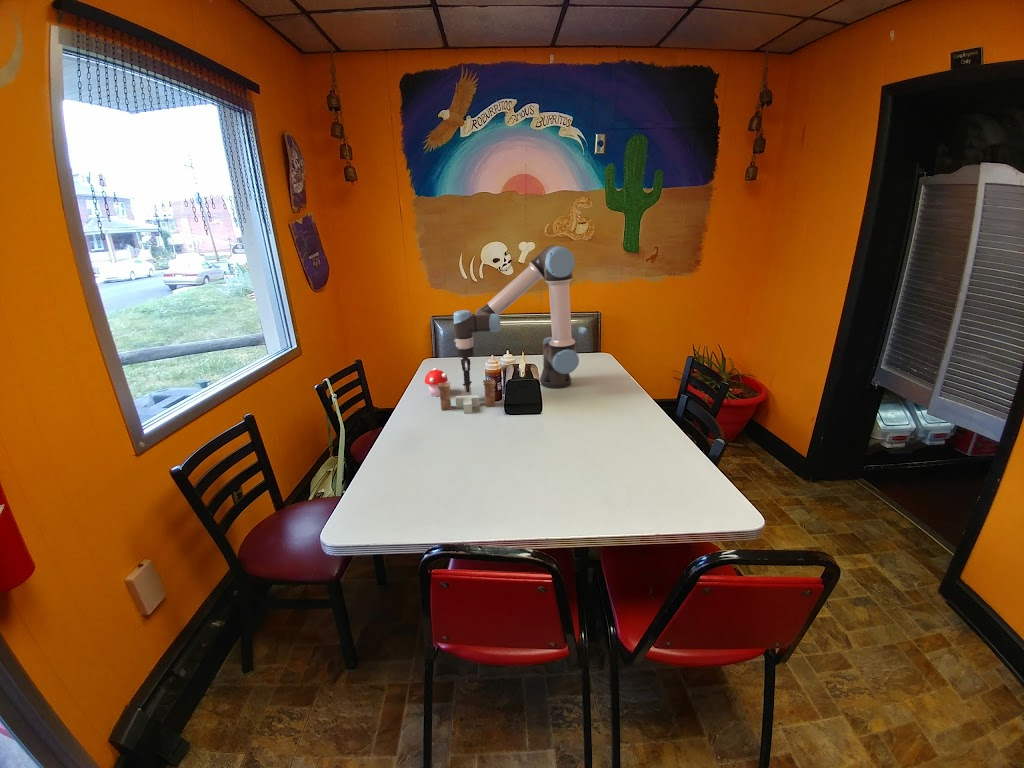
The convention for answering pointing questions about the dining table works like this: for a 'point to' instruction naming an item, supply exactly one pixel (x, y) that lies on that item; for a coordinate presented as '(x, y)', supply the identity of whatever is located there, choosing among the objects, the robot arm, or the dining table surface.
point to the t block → (467, 402)
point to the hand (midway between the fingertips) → (468, 398)
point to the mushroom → (435, 381)
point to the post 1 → (445, 396)
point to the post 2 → (489, 393)
